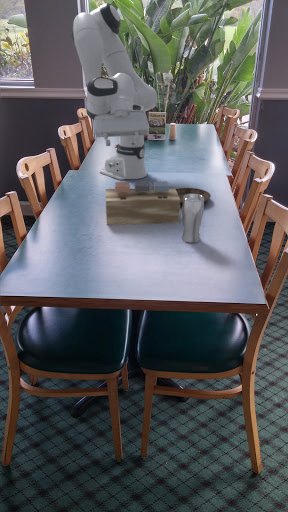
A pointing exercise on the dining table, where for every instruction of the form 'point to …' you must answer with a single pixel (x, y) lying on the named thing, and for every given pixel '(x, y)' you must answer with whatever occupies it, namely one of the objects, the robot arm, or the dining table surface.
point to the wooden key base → (142, 207)
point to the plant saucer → (185, 191)
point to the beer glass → (192, 217)
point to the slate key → (161, 186)
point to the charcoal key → (141, 186)
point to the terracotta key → (122, 187)
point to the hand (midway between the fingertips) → (120, 144)
